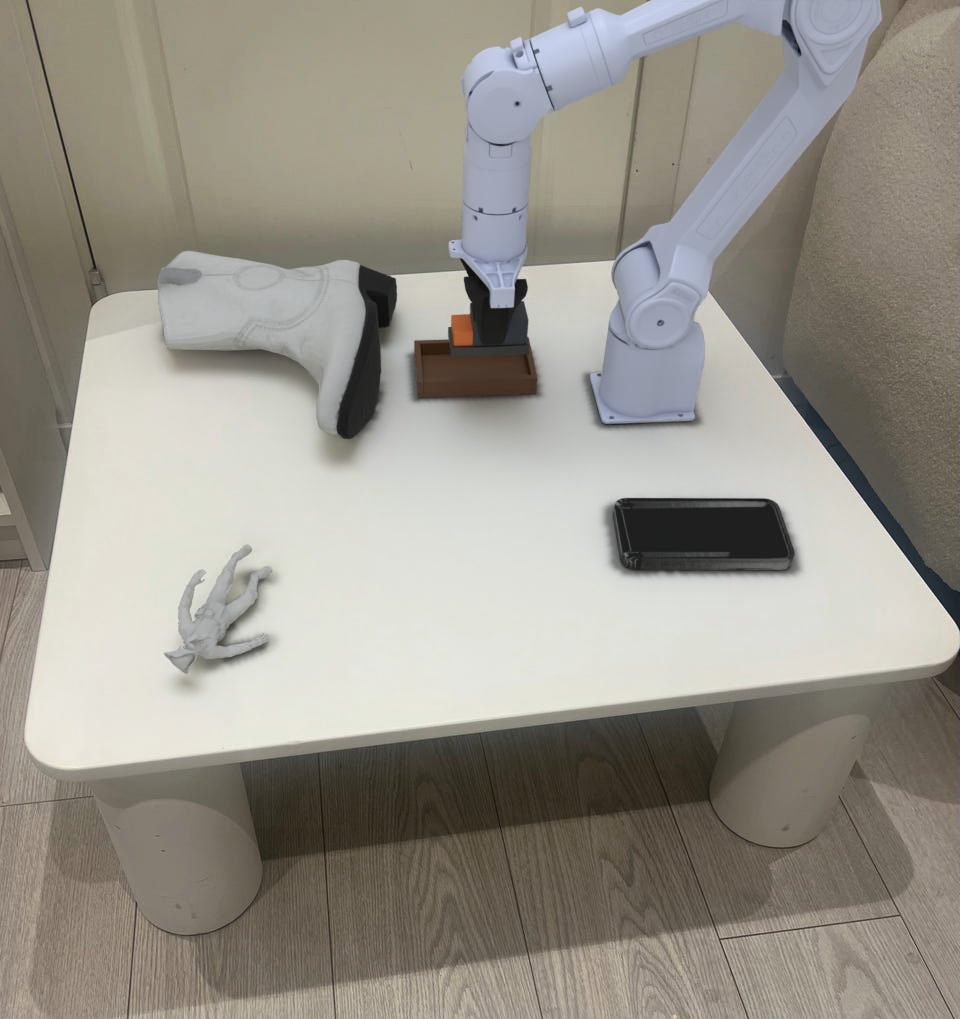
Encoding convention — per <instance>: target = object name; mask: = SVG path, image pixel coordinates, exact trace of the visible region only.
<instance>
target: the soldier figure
mask: <svg viewBox="0 0 960 1019" xmlns="http://www.w3.org/2000/svg"><path fill="white" fill-rule="evenodd" d="M252 550H253V547H252V546H251V545H250V544H248V543H247V544H244V545H242V547H241V548H240V549H239V550H237V551H236V552H235V551H234V552H233V553H232V555H231V557H230V559H229V560H228V562H227V563H226V564H225V565H224V567H223V568H222V571H221V573H220V574H219V575H218V576H217V577H216V581H215V584H214V586H213V587H212V589H211V590H210V593H209V594H208V597H207V598H206V600H205V603H203V604H202V605H201V606H200V608H198V609H197V610H196V612H195V613H194V616H193V618H194V620H193V618H192V615H191V612H190V610H191V608H192V604H193V599H194V594H195V590H196V589H195V588H196V586H198V585H201V584H202V583H204V582H205V580H206V579H202V578H203V577H204V576H205V575H206V574H207V571H206V570H205V569H203V568H202V569H198V570H197V571H196V572H195V573H193V575H192V576H191V579H190V580H189V582H188V584H186V586H185V589H184V591H183V594H182V596H181V599H180V601H179V605H178V607H177V611H178V612H177V619H178V622H177V624H178V630H177V632H178V633H179V635H180V636H181V639H182V641H183V642H182V643H183V646H179V647H178V648H177V649H176V650H173V651H167V652H163V655H164V657H166V658H167V659H168V660H169V661H170V663H171V664H172V665H173V666H174V667H175V668H177V669H178V670H179V671H181V672H182V673H183V674H185V675H187V674H188V673H189V670H190V666H192V665H193V664H194V663H195V662H196V660H197V656H200V657H202V658H203V659H206V660H213V659H214V660H216V659H224V658H231V657H234V656H238V655H241V654H244V653H247V652H249V651H251V650H252V649H254V648H256V647H259V646H263V644H265V643H267V642H268V641H269V640H270V638H269V635H268V634H267V633H264V632H262V633H261V634H259V635H258V636H256V637H255V638H254V639H252V640H251V641H244V642H240V643H236V644H230V645H226V646H224V645H220V644H219V645H218V642H220V641H222V640H223V639H224V637H225V636H226V634H227V629H229V627H230V625H231V624H233V623H234V622H235V621H236V620H237V619H239V617H241V616H242V615H243V614H245V612H246V611H247V610H248V609H249V608H250V607H251V606H252V605H254V604H255V602H256V600H258V597H259V592H258V585H259V581H260V580H262V579H265V578H267V577H269V576H271V574H272V573H273V571H274V570H273V568H272V567H271V566H269V565H266V566H263V567H262V568H261V569H260V570H258V571H253V572H251V574H250V575H249V581H248V584H247V586H246V588H245V590H244V591H243V594H242V595H239V596H238V597H237V598H236V599H235V600H233V601H232V602H230V603H227V601H228V600H227V599H228V595H229V591H230V590H231V588H232V586H233V583H234V580H235V577H234V576H235V571H236V568H237V565H238V562H240V561H241V560H243V559H244V558H246V557H247V556H249V555H250V554H251V553H252ZM201 579H202V580H201Z"/></svg>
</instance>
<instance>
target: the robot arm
mask: <svg viewBox="0 0 960 1019" xmlns="http://www.w3.org/2000/svg"><path fill="white" fill-rule="evenodd" d="M566 17H567V20H568V21H566V22H564V23H561V24H559V25H557V26H555V27H552V28H550V29H547V30H546V31H544V32H541V33H539V34H537V35H535V36H533V37H530V38H528V39H526V40H523V38H522V36H519V37H516V38H515V39H512V40H510V42H509V47H507V46H505V48H502V46H499V45H498V46H491V47H488V48H485V49H483V50H482V51H480V52H478V53H477V54H476V55H475V56H474V57H473V58H471V62H470V63H468V64H467V66H466V68H465V71H464V75H463V77H461V80H460V83H461V90H462V94H463V97H464V103H465V112H466V124H465V127H464V139H465V143H464V145H463V149H462V150H463V152H462V153H463V156H462V159H463V160H462V161H463V162H462V163H463V164H462V207H461V208H462V211H461V213H462V215H461V216H462V217H461V218H462V219H461V238H460V239H452V240H449V241H448V247H447V248H448V256H450V258H452V259H459V260H460V262H461V264H462V265H463V268H464V269H465V270H464V271H465V272H466V274H467V276H464V277H463V285H464V290H465V294H466V296H467V297H468V299H469V301H470V303H472V304H473V307H474V309H475V312H476V318H477V325H478V331H479V337H480V340H481V343H482V344H483V345H490V344H503V342H504V340H505V337H506V334H507V331H508V328H509V325H510V322H511V319H512V316H513V314H514V312H515V310H516V308H517V306H518V305H519V304H520V302H521V301H524V299H525V298H526V296H527V294H528V290H529V286H528V285H529V284H528V282H527V278H518V277H519V275H520V273H521V270H522V268H523V266H524V263H525V261H526V258H527V255H528V243H527V230H528V215H529V200H530V182H531V167H532V154H533V151H532V146H531V134H532V133H533V132H534V131H535V130H536V128H537V126H538V124H539V122H540V120H541V119H542V118H543V117H545V116H546V115H549V114H552V113H554V112H556V111H559V110H561V109H563V108H566V107H568V106H570V105H573V104H575V103H577V102H579V101H582V100H584V99H586V98H589V97H591V96H594V95H596V94H599V93H600V92H603V91H605V90H609V89H610V88H613V87H615V86H616V85H619V84H621V83H623V82H624V80H625V78H626V76H627V74H628V73H629V71H630V69H631V67H632V65H633V63H634V62H635V61H636V60H638V59H640V58H643V57H646V56H649V55H651V54H654V53H656V52H660V51H662V50H665V49H668V48H670V47H673V46H675V45H678V44H681V43H684V42H686V41H689V40H692V39H695V38H697V37H700V36H703V35H705V34H708V33H710V32H713V31H716V30H719V29H721V28H725V27H727V26H730V25H732V24H738V25H741V26H744V27H747V28H750V29H753V30H755V31H759V32H762V33H765V34H768V35H771V36H774V37H780V40H781V47H782V53H783V54H782V56H783V63H784V68H783V69H784V70H783V72H782V73H781V75H780V76H779V78H777V80H776V81H775V82H774V84H773V85H772V86H771V88H770V89H769V90H768V91H767V93H766V94H765V95H764V97H763V98H762V99H761V101H760V102H759V103H758V105H757V106H756V107H755V108H754V110H753V111H752V112H751V114H750V115H749V117H748V118H747V119H746V120H745V122H744V123H743V125H741V127H740V128H739V130H738V131H737V132H736V134H734V136H733V138H731V140H730V141H729V143H728V144H727V145H726V146H725V148H724V150H723V151H722V152H721V153H720V154H719V156H718V157H717V158H716V160H715V161H714V163H713V164H712V165H711V167H709V169H708V170H707V171H706V173H705V174H704V176H703V177H702V178H701V180H700V181H699V182H698V183H697V185H696V186H695V187H694V189H693V190H692V192H691V193H690V194H689V196H688V197H687V198H686V199H685V201H684V202H683V203H682V205H681V206H680V207H679V209H677V211H676V213H674V215H673V216H672V218H671V219H670V220H669V221H667V222H665V223H659V224H655V225H652V226H650V227H649V229H648V230H647V231H646V232H645V234H644V235H643V236H642V237H641V238H640V239H639V240H637V241H636V242H635V243H633V244H630V245H629V246H628V247H626V248H624V249H623V250H622V251H621V252H620V253H619V254H618V255H617V257H615V260H614V261H613V264H612V267H611V275H610V276H611V282H612V285H613V286H614V289H615V290H616V294H617V297H618V300H617V302H616V304H615V306H614V307H613V308H612V310H611V312H610V315H609V318H608V324H607V326H608V327H607V334H606V340H605V346H604V347H605V348H604V354H603V360H602V361H603V362H602V369H601V372H599V371H598V372H591V373H590V374H589V381H590V385H591V388H592V392H593V395H594V399H595V402H596V405H597V410H598V413H599V418H600V420H601V422H602V423H603V424H606V425H612V424H638V423H643V424H644V423H665V422H666V423H667V422H692V421H694V420H695V418H696V413H695V411H694V410H695V407H696V402H697V397H698V393H699V389H700V383H701V380H702V376H703V371H704V367H705V366H704V365H705V360H706V359H705V357H706V341H705V336H704V331H703V328H702V326H701V324H700V322H698V321H696V320H695V317H696V313H697V310H698V308H699V307H700V305H701V304H702V303H703V302H704V301H705V300H706V298H707V296H708V293H709V289H710V284H711V278H712V273H713V268H714V263H715V261H716V260H717V259H718V257H719V256H720V255H721V253H723V251H724V250H725V249H726V248H727V246H728V245H729V244H730V243H731V242H732V240H733V239H734V238H735V236H736V235H737V234H738V233H739V231H740V230H742V228H743V227H744V225H745V224H746V223H747V222H748V221H749V219H751V217H752V216H753V214H754V213H755V212H756V211H757V210H758V208H759V207H760V206H761V205H762V204H763V202H764V201H765V199H766V198H767V197H768V196H769V195H770V193H771V192H772V191H773V190H774V189H775V188H776V186H777V185H778V184H779V183H780V181H781V180H782V179H783V178H784V176H786V174H787V173H788V172H789V170H790V169H791V168H793V166H794V164H795V163H796V162H797V161H798V160H799V158H800V157H801V155H803V153H804V152H805V151H806V150H807V149H808V148H809V146H810V145H811V143H812V142H813V141H814V140H815V139H816V137H817V136H818V135H819V134H820V132H821V131H822V130H823V129H824V127H826V125H827V124H828V123H829V121H830V120H831V119H832V118H833V117H834V115H835V114H836V113H837V112H838V110H839V109H840V108H841V107H842V106H843V105H844V103H845V102H846V101H847V99H848V98H849V97H850V96H851V94H852V93H853V91H854V89H855V88H856V84H857V81H858V78H859V75H860V71H861V69H862V68H861V67H862V64H863V61H864V57H865V54H866V50H867V46H868V43H869V39H870V36H871V35H872V33H874V31H875V30H876V28H877V27H878V26H879V25H880V23H881V22H882V21H883V14H882V7H881V0H649V1H646V2H644V3H643V4H642V3H641V4H640V5H638V6H637V7H635V8H632V9H631V10H629V11H626V12H625V13H622V14H615V13H613V12H610V11H607V10H605V9H602V8H600V7H598V8H595V9H592V10H590V11H588V12H586V13H585V10H584V8H583V7H582V6H579V7H577V8H575V9H572V10H571V11H568V12H567V13H566Z"/></svg>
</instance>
